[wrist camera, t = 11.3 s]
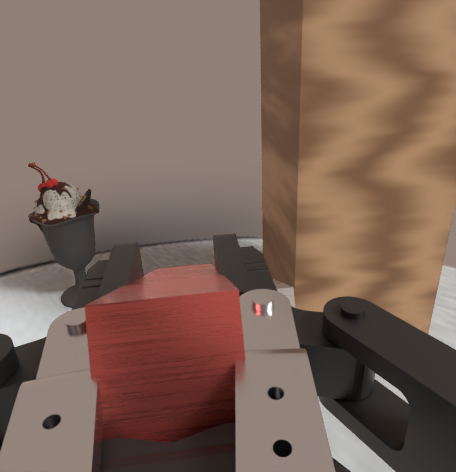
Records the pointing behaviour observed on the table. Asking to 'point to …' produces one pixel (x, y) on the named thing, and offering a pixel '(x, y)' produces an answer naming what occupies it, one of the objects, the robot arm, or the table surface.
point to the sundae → (66, 227)
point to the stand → (359, 149)
